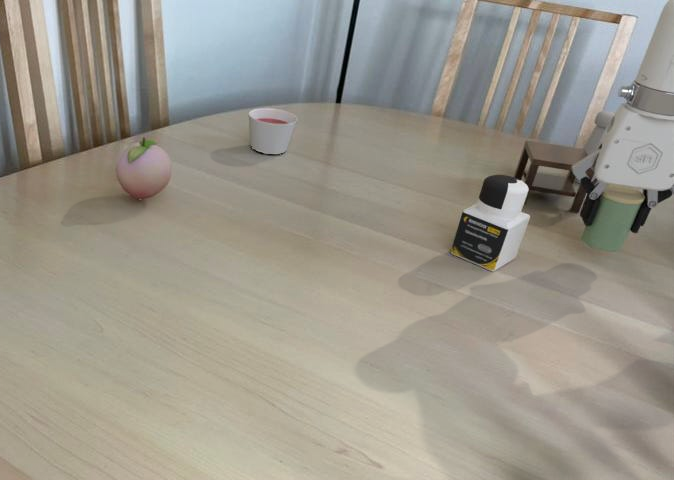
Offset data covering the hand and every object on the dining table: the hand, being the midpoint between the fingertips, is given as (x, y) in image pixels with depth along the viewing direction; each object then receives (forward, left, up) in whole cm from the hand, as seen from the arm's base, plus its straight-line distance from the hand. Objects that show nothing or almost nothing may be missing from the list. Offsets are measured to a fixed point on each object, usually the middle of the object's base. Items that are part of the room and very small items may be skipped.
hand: (609, 224), depth 108 cm
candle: (+53, -27, -7) cm, 60 cm away
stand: (+3, -25, -6) cm, 26 cm away
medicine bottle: (+16, +4, -7) cm, 18 cm away
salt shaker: (-6, -37, -7) cm, 38 cm away
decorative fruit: (+68, +5, -7) cm, 69 cm away
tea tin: (0, 0, -3) cm, 3 cm away
